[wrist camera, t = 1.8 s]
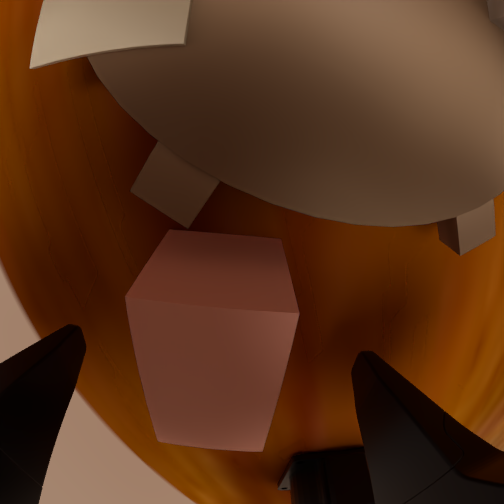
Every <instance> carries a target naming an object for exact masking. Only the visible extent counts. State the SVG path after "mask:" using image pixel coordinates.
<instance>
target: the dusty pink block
mask: <svg viewBox="0 0 504 504" xmlns="http://www.w3.org/2000/svg"><path fill="white" fill-rule="evenodd" d="M125 301H126V308H127V314H128V320H129V326H130V331H131V337H132V342H133V347H134V352H135V357H136V361H137V366H138V370H139V374H140V379H141V383H142V387H143V391H144V395H145V399H146V402H147V406H148V410H149V413H150V417H151V420H152V423H153V427H154V430H155V433H156V436H157V439H158V442H164V443H170V444H176V445H183V446H191V447H199V448H208V449H219V450H233V451H254V452H262V451H263V448H264V445H265V441H266V438H267V435H268V432H269V428H270V425H271V421H272V418H273V414H274V411H275V407H276V404H277V400H278V397H279V393H280V389H281V386H282V382H283V378H284V374H285V371H286V367H287V363H288V359H289V355H290V351H291V347H292V343H293V339H294V335H295V330H296V326H297V322H298V318H299V309H298V305H297V301H296V297H295V293H294V289H293V285H292V280H291V276H290V272H289V268H288V264H287V260H286V257H285V253H284V249H283V245H282V241H281V239H279V238H267V237H256V236H245V235H233V234H221V233H209V232H197V231H184V230H171V229H169V231H168V232H167V234H166V235H165V236H164V238H163V239H162V241H161V242H160V244H159V245H158V247H157V248H156V250H155V251H154V253H153V254H152V256H151V257H150V259H149V260H148V262H147V263H146V265H145V266H144V268H143V269H142V271H141V272H140V274H139V275H138V277H137V278H136V280H135V282H134V283H133V285H132V286H131V288H130V289H129V291H128V293H127V294H126V296H125Z"/></svg>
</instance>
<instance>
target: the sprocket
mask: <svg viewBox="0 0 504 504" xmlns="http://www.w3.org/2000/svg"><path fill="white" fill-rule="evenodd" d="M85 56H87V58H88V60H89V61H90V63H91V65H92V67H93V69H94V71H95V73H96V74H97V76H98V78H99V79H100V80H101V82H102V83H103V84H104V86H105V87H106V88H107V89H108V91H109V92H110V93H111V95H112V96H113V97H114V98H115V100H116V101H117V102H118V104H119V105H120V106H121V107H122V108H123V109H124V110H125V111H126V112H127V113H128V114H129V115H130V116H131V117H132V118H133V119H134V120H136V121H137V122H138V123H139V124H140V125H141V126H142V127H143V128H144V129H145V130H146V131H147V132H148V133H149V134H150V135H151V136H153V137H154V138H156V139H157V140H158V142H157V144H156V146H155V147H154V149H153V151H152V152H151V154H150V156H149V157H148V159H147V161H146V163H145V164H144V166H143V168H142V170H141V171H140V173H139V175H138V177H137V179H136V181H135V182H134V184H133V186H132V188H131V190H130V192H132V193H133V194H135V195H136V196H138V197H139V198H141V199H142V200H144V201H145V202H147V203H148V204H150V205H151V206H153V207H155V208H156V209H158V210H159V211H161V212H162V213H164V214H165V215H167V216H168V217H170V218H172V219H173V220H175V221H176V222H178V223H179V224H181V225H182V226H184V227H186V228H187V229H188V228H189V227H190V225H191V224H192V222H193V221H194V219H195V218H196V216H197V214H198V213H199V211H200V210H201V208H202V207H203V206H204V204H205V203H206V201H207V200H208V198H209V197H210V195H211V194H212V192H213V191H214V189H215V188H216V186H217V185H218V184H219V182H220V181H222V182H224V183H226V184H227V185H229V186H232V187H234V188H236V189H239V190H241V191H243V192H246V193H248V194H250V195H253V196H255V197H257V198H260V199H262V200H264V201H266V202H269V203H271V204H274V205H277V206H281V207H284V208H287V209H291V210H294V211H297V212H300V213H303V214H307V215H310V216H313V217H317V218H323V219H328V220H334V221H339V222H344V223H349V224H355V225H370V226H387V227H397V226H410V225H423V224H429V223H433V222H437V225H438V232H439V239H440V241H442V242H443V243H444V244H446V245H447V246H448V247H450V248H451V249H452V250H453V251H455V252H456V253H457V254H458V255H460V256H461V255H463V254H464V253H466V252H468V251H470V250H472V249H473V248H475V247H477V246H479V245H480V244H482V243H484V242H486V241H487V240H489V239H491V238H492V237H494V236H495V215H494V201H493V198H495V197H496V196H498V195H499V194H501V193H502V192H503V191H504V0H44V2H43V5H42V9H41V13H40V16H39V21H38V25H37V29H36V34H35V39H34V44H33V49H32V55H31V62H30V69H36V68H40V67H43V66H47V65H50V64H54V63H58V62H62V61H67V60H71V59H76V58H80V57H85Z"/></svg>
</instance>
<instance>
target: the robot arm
mask: <svg viewBox="0 0 504 504" xmlns="http://www.w3.org/2000/svg"><path fill="white" fill-rule="evenodd" d="M85 352H86V343H85V340H84V336H83V333H82V330H81V328H80V326H77V325H73V324H68V325H66V326H64V327H63V328H61V329H59V330H57V331H55V332H54V333H52V334H50V335H48V336H47V337H45V338H43V339H41V340H40V341H38V342H36V343H34V344H33V345H31V346H29V347H28V348H26V349H24V350H22V351H21V352H19V353H17V354H15V355H14V356H12V357H10V358H9V359H7V360H5V361H4V362H2V363H0V504H39V500H40V496H41V491H42V486H43V483H44V479H45V475H46V472H47V468H48V465H49V461H50V458H51V454H52V451H53V448H54V445H55V442H56V439H57V436H58V433H59V430H60V427H61V424H62V421H63V419H64V416H65V413H66V410H67V408H68V405H69V402H70V400H71V397H72V394H73V392H74V389H75V386H76V383H77V380H78V376H79V372H80V369H81V366H82V362H83V359H84V356H85ZM351 376H352V383H353V391H354V399H355V407H356V414H357V419H358V423H359V427H360V432H361V436H362V440H363V445H364V448H361V449H354V450H347V451H338V452H328V453H316V454H301V455H296V456H294V457H292V459H291V461H290V463H289V465H288V467H287V468H286V470H285V472H284V474H283V476H282V478H281V479H280V481H279V483H278V490H290V492H291V503H292V504H504V452H503V451H501V450H499V449H497V448H495V447H494V446H492V445H491V444H489V443H488V442H486V441H485V440H483V439H482V438H480V437H479V436H477V435H476V434H474V433H473V432H471V431H470V430H468V429H467V428H466V427H464V426H463V425H461V424H460V423H459V422H458V421H456V420H455V419H454V418H453V417H451V416H450V415H449V414H448V413H447V412H445V411H444V410H443V409H442V408H440V407H439V406H438V405H437V404H436V403H434V402H433V401H432V400H431V399H430V398H428V397H427V396H426V395H425V394H424V393H422V392H421V391H420V390H419V389H418V388H416V387H415V386H414V385H413V384H412V383H410V382H409V381H408V380H407V379H406V378H404V377H403V376H402V375H401V374H400V373H398V372H397V371H396V370H395V369H393V368H392V367H391V366H390V365H389V364H387V363H386V362H385V361H384V360H383V359H381V358H380V357H379V356H378V355H377V354H375V353H374V352H373V351H361V352H360V353H359V354H358V356H357V358H356V361H355V363H354V365H353V368H352V372H351Z"/></svg>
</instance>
